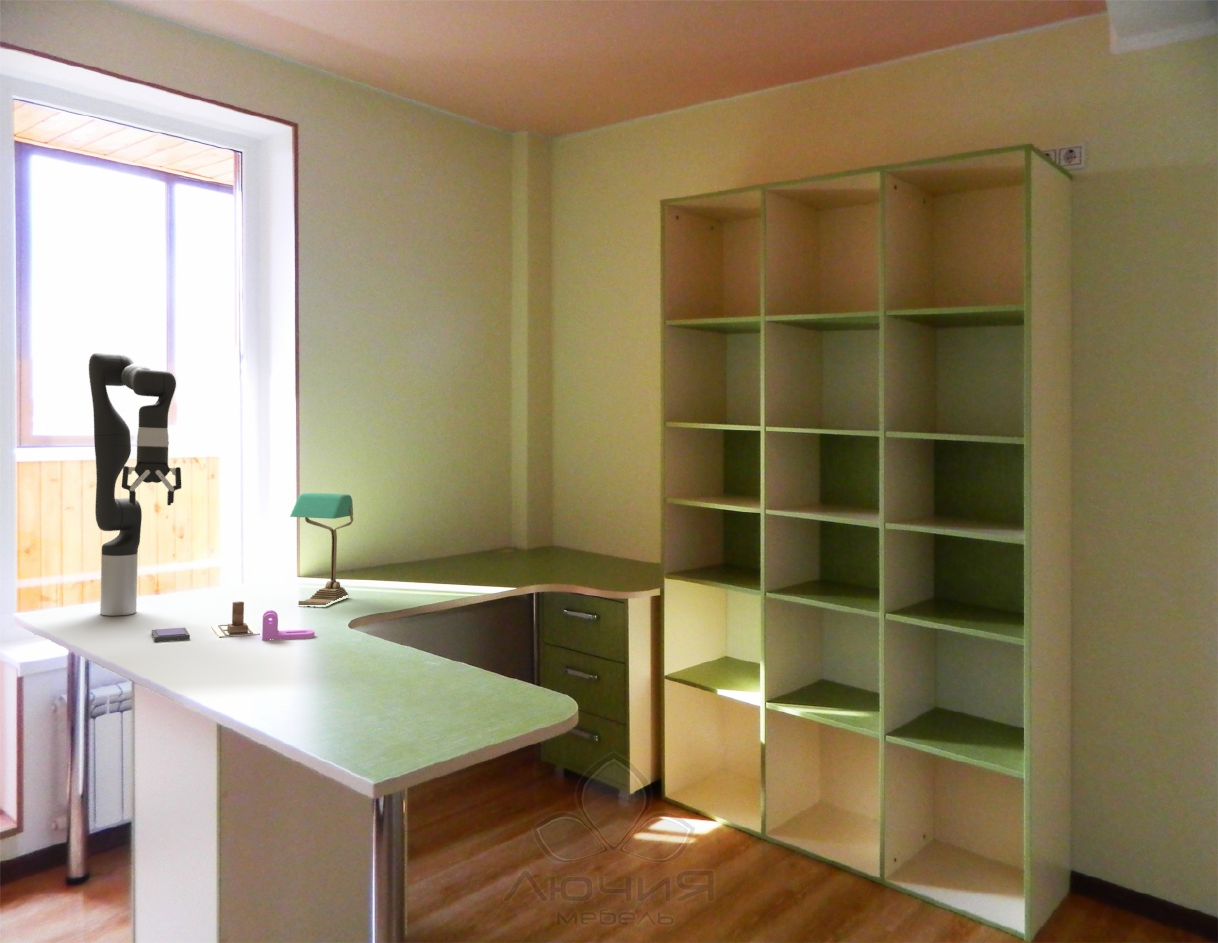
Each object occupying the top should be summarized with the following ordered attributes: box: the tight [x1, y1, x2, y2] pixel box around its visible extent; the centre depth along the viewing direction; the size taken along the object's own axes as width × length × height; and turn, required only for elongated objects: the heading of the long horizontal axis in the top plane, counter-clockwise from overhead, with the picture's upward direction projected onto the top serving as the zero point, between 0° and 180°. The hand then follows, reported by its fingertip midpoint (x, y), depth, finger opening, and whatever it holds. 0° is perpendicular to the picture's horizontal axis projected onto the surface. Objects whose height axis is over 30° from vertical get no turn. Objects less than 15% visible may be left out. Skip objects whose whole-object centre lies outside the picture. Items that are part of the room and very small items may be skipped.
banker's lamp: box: [289, 492, 354, 605], centre depth 293 cm, size 16×21×35 cm
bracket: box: [261, 609, 316, 641], centre depth 241 cm, size 13×6×7 cm, turn 111°
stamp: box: [227, 601, 248, 634], centre depth 243 cm, size 4×4×8 cm
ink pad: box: [151, 627, 191, 643], centre depth 237 cm, size 10×8×1 cm
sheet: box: [210, 623, 260, 638], centre depth 247 cm, size 14×10×1 cm
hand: (151, 505), depth 246 cm, fingers open, 8 cm apart
